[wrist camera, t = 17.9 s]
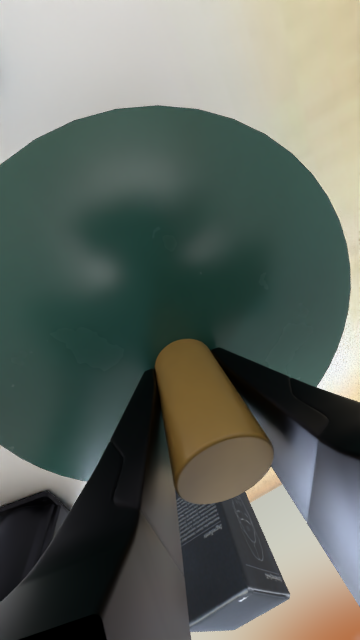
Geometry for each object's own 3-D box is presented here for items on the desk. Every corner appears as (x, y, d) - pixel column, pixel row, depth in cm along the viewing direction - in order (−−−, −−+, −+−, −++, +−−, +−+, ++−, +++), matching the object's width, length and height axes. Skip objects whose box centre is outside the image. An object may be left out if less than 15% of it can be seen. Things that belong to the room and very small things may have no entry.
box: (156, 459, 22) (175, 636, 12) (198, 430, 21) (251, 590, 12) (195, 483, 25) (234, 635, 16) (232, 458, 25) (294, 599, 15)
